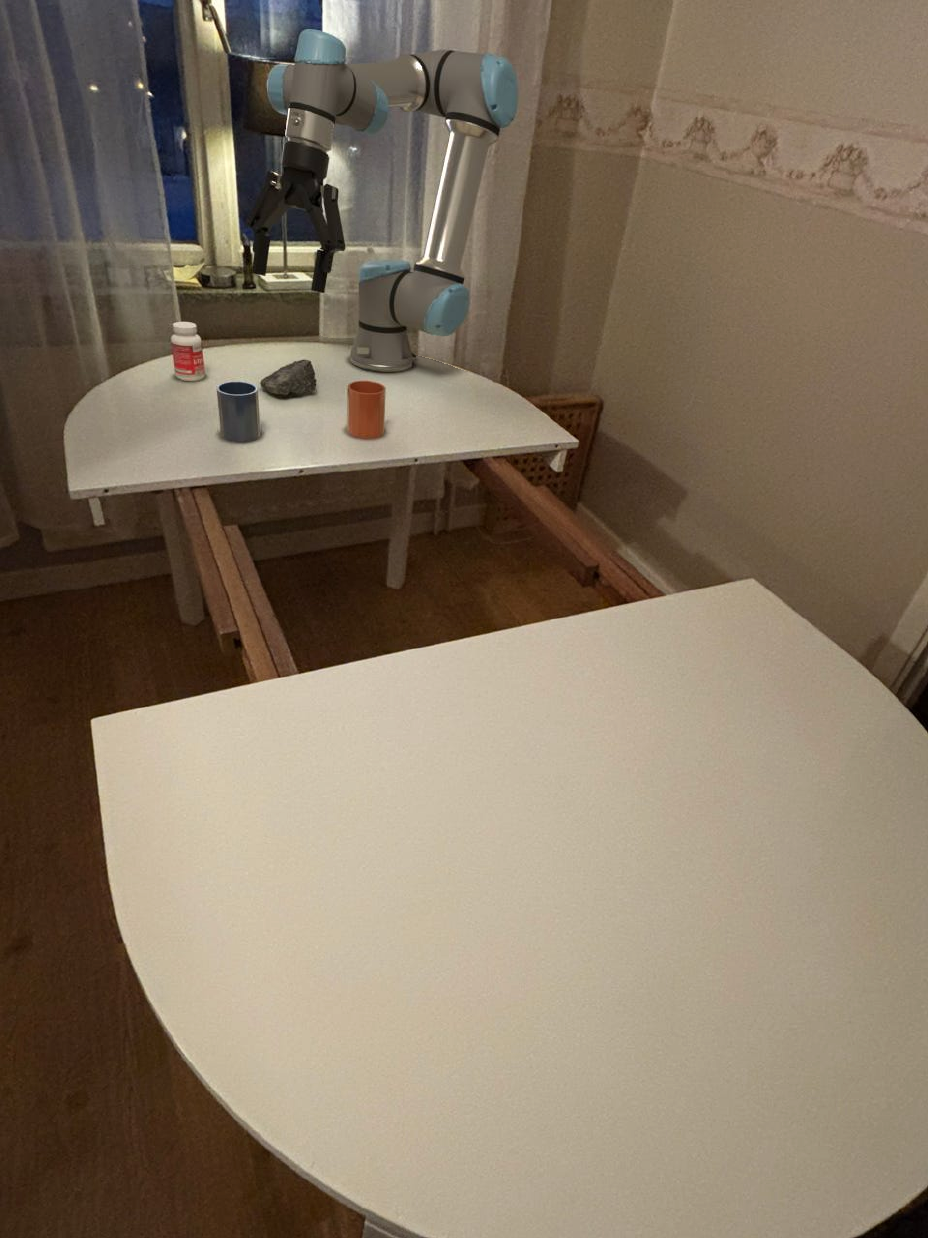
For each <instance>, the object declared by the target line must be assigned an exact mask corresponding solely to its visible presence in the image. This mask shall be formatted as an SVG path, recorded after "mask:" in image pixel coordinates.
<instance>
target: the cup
mask: <svg viewBox="0 0 928 1238" xmlns="http://www.w3.org/2000/svg"><path fill="white" fill-rule="evenodd" d="M216 398H217V407H218V408H217V409H218V419H219V430H220V436H221V438H222V439H224V440H225V441H228V442H230V443H231V442H232V443H238V444H239V443H251V442H254V441H257V440H258V439H260V438H261V433H262V432H261V418H260V417H261V416H260V399H259V388H258V386H257V385H255V384H254V383H251V382H247V381H241V380H239V381H238V380H237V381H232V380H231V381H226V382H225V381H224V382H222V383H219V384H218V385H217V386H216Z"/></svg>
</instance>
